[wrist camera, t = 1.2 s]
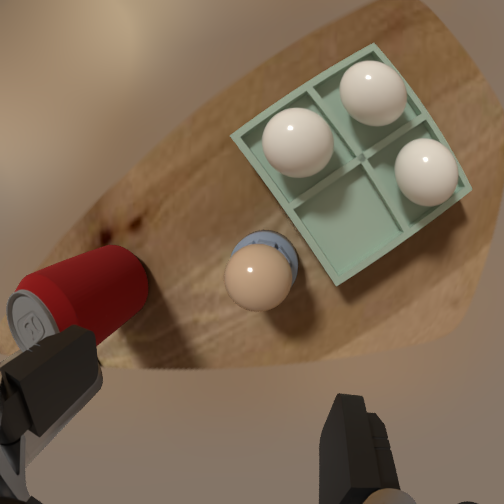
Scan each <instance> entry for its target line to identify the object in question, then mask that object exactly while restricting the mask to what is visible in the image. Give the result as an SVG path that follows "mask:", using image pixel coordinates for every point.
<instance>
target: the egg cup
mask: <svg viewBox="0 0 504 504" xmlns="http://www.w3.org/2000/svg"><path fill="white" fill-rule="evenodd" d="M250 244H266V245H269V246H272V247H274V248H276V249H277V250H279V251H280V252H281V253H282V254H283V255H284V256H285V257H286V259H287V260H288V262H289V264H290V267H291V271H292V285H293V283H294V281H295V279H296V276H297V271H298V256H297V252H296V250H295V248H294V246H293V244H292V243H291V242H290V241H289V240H288V239H287V238H286V237H285V236H284V235H282V234H280V233H278V232H275V231H271V230H259V231H255V232H253V233H251V234H249V235H247V236H246V237H245V238H244V239H242V240H241V241H240V242H239V243H238V244H237V245H236V247H235V248H234V250H233V252H232V255H233V254H234V253H235V252H236V251H238V250H239V249H241V248H242V247H245V246H247V245H250ZM232 255H231V256H232ZM292 285H291V286H292Z"/></svg>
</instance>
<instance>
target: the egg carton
mask: <svg viewBox="0 0 504 504" xmlns="http://www.w3.org/2000/svg"><path fill="white" fill-rule="evenodd" d="M362 61H378V62H381V63H384V64H386V65H388V66H390V67H391V68H393V69H394V70H395V71H396V72H397V73H398V74H399V75H400V77H401V78H402V80H403V82H404V84H405V86H406V90H407V104H406V107H405V109H404V112H403V113H402V115H401V116H400V117H399V118H398V119H397V120H396V121H394V122H393V123H391V124H388V125H385V126H379V127H376V126H368V125H365V124H362V123H360V122H358V121H357V120H355V119H354V118H353V117H351V116H350V115H349V113H348V112H347V111H346V110H345V108H344V106H343V104H342V102H341V99H340V93H339V87H340V82H341V79H342V77H343V75H344V73H345V72H346V71H347V70H348V69H349V68H350V67H351V66H353V65H354V64H356V63H359V62H362ZM289 108H305V109H309V110H311V111H313V112H315V113H317V114H319V115H320V116H321V117H322V118H323V119H324V120H325V121H326V122H327V123H328V125H329V126H330V128H331V131H332V133H333V137H334V150H333V154H332V157H331V159H330V161H329V162H328V164H327V165H326V166H325V167H324V168H323V169H322V170H321V171H320V172H318V173H317V174H315V175H312V176H309V177H305V178H292V177H288V176H285V175H283V174H281V173H279V172H278V171H276V170H275V169H274V168H273V167H272V166H271V165H270V164H269V162H268V161H267V159H266V157H265V155H264V152H263V148H262V136H263V132H264V129H265V127H266V125H267V123H268V122H269V121H270V119H271V118H272V117H273V116H275V115H276V114H277V113H279V112H281V111H283V110H286V109H289ZM230 137H231V138H232V139H233V141H234V142H235V143H236V145H237V146H238V147H239V149H240V150H241V151H242V153H243V154H244V155H245V157H246V158H247V159H248V161H249V162H250V163H251V165H252V166H253V167H254V169H255V170H256V171H257V173H258V174H259V175H260V177H261V178H262V180H263V181H264V182H265V184H266V185H267V187H268V188H269V189H270V191H271V192H272V193H273V195H274V196H275V198H276V199H277V200H278V202H279V203H280V205H281V206H282V207H283V209H284V210H285V212H286V213H287V215H288V216H289V217H290V219H291V220H292V222H293V223H294V225H295V226H296V227H297V229H298V230H299V232H300V233H301V235H302V236H303V238H304V239H305V241H306V242H307V243H308V245H309V246H310V248H311V249H312V251H313V252H314V254H315V255H316V257H317V258H318V260H319V261H320V263H321V264H322V266H323V267H324V269H325V270H326V272H327V273H328V275H329V276H330V278H331V279H332V281H333V282H334V284H335V285H336V286H338V285H340V284H341V283H343V282H344V281H346V280H347V279H349V278H350V277H352V276H353V275H355V274H356V273H358V272H359V271H361V270H363V269H364V268H366V267H367V266H368V265H370V264H371V263H373V262H374V261H376V260H377V259H379V258H380V257H382V256H383V255H385V254H386V253H388V252H389V251H390V250H392V249H393V248H395V247H396V246H398V245H399V244H400V243H402V242H403V241H405V240H406V239H408V238H409V237H410V236H412V235H413V234H414V233H416V232H417V231H419V230H420V229H421V228H423V227H424V226H425V225H427V224H428V223H430V222H431V221H432V220H434V219H435V218H436V217H438V216H439V215H440V214H442V213H443V212H444V211H446V210H447V209H448V208H449V207H451V206H452V205H453V204H455V203H456V202H457V201H459V200H460V199H461V198H462V197H464V196H465V195H466V194H467V193H469V192H470V191H471V190H472V187H471V185H470V183H469V181H468V179H467V177H466V176H465V174H464V172H463V170H462V168H461V166H460V164H459V162H458V161H457V159H456V157H455V155H454V153H453V152H452V150H451V148H450V146H449V145H448V143H447V141H446V140H445V138H444V136H443V135H442V133H441V132H440V130H439V128H438V127H437V125H436V124H435V122H434V120H433V119H432V117H431V116H430V114H429V113H428V111H427V110H426V108H425V107H424V106H423V104H422V103H421V101H420V100H419V98H418V97H417V96H416V94H415V93H414V91H413V90H412V89H411V87H410V86H409V85H408V83H407V82H406V81H405V79H404V78H403V77H402V76H401V74H400V73H399V72H398V71H397V69H396V68H395V67H394V66H393V64H392V63H391V62H390V61H389V59H388V58H387V57H386V56H385V55H384V54H383V52H382V51H381V50H380V49H379V48H378V47H377V46H376V44H375V43H372V44H371V45H369V46H367V47H365V48H363V49H361V50H360V51H358V52H356V53H354V54H353V55H351V56H349V57H347V58H346V59H344V60H342V61H340V62H339V63H337V64H335V65H334V66H332V67H330V68H329V69H327V70H325V71H324V72H322V73H321V74H319V75H317V76H316V77H314V78H313V79H311V80H309V81H308V82H306V83H305V84H303V85H302V86H300V87H298V88H297V89H295V90H294V91H292V92H291V93H289V94H288V95H286V96H285V97H283V98H282V99H280V100H279V101H277V102H276V103H275V104H273V105H272V106H270V107H269V108H267V109H266V110H264V111H263V112H262V113H260V114H259V115H257V116H256V117H255V118H253V119H252V120H250V121H249V122H248V123H246V124H245V125H244V126H242V127H241V128H239V129H238V130H237V131H235V132H234V133H233V134H231V135H230ZM420 138H428V139H433V140H436V141H438V142H440V143H441V144H443V145H444V146H446V147H447V148H448V149H449V151H450V152H451V153H452V155H453V156H454V158H455V160H456V163H457V166H458V173H459V177H458V183H457V187H456V189H455V191H454V193H453V194H452V196H451V197H450V198H449V199H448V200H447V201H445V202H444V203H442V204H440V205H437V206H431V207H429V206H421V205H418V204H415V203H413V202H412V201H410V200H409V199H408V198H407V197H406V196H405V195H404V194H403V193H402V192H401V190H400V189H399V187H398V185H397V182H396V179H395V172H394V168H395V161H396V158H397V156H398V154H399V152H400V150H401V149H402V148H403V147H404V146H405V145H406V144H407V143H409V142H411V141H413V140H415V139H420Z"/></svg>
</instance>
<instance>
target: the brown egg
mask: <svg viewBox="0 0 504 504" xmlns="http://www.w3.org/2000/svg"><path fill="white" fill-rule="evenodd" d="M224 283H225V287H226V290H227V293H228V295H229V296H230V298H231V299H232V300H233V301H234V302H235V303H236V304H237V305H239V306H240V307H242V308H244V309H246V310H249V311H254V312H262V311H267V310H270V309H273V308H274V307H276V306H278V305H279V304H280V303H281V302H282V301H283V300H284V299H285V298H286V297H287V295H288V293H289V291H290V288H291V285H292V271H291V267H290V264H289V262H288V260H287V259H286V257H285V256H284V255H283V254H282V253H281V252H280V251H279V250H277V249H276V248H274V247H272V246H269V245H266V244H250V245H247V246H245V247H242V248H241V249H239V250H238V251H236V252H235V253H234V254H233V255H232V256H231V258H230V259H229V261H228V263H227V265H226V268H225V272H224Z"/></svg>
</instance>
